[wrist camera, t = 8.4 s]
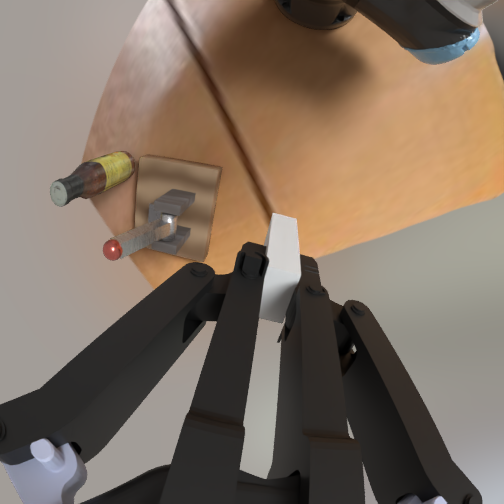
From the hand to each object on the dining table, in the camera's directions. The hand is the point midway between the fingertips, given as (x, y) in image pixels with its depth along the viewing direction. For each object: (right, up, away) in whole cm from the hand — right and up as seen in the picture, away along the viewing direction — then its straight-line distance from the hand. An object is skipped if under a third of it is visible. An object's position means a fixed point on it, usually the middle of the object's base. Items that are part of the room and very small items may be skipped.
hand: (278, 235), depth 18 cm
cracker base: (-16, +8, +36) cm, 40 cm away
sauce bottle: (-28, +16, +33) cm, 46 cm away
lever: (-16, +5, +30) cm, 34 cm away
